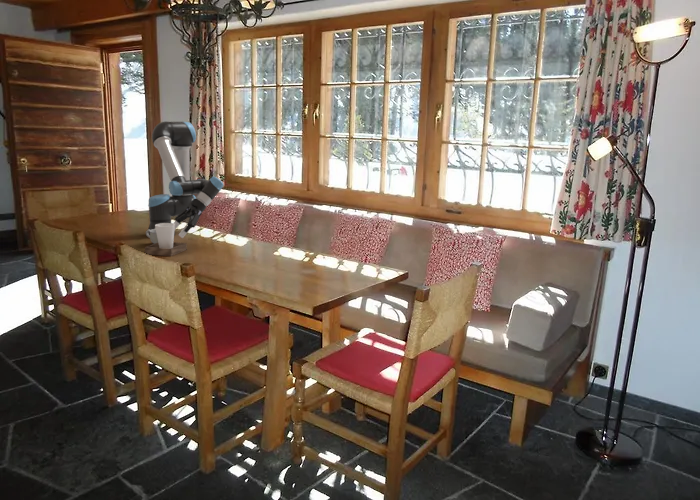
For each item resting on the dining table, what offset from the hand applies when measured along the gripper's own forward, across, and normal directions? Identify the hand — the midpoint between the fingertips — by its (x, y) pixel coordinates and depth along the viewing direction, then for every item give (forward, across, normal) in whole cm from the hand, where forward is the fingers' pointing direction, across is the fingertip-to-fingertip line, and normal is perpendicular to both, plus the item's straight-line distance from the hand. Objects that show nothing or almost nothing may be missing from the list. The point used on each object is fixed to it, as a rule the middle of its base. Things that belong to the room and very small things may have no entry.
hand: (174, 234), depth 275 cm
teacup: (+7, +20, -5) cm, 22 cm away
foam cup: (+9, 0, -2) cm, 9 cm away
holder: (+10, 0, -2) cm, 10 cm away
